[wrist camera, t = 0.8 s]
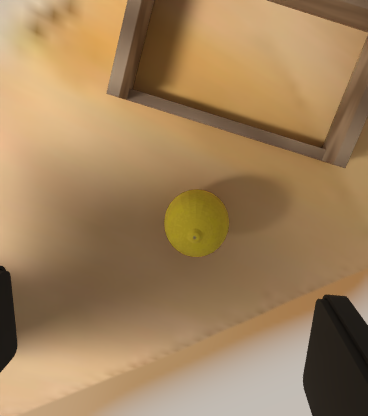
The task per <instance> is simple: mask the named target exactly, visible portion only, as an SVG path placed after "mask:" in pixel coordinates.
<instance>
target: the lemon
mask: <svg viewBox="0 0 368 416" xmlns="http://www.w3.org/2000/svg"><path fill="white" fill-rule="evenodd" d="M164 226H165V232H166V235H167V238H168V240H169V242H170V243H171V245H172V246H173V247H174V248H175V249H176V250H177V251H179V252H181V253H182V254H184V255H187V256H191V257H201V256H206V255H208V254H210V253H213V252H214V251H215V250H216V249H218V248H219V247H220V246H221V244H222V243H223V241H224V240H225V238H226V235H227V233H228V228H229V218H228V213H227V210H226V208H225V206H224V204H223V203H222V202H221V200H220V199H219V198H218V197H216V196H215V195H214V194H212V193H210V192H207V191H205V190H198V189H196V190H189V191H186V192H183V193H181V194H180V195H178V196H177V197H176V198H175V199H174V200H173V201H172V202H171V203H170V205H169V207H168V209H167V211H166V214H165V219H164Z"/></svg>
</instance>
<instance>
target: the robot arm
mask: <svg viewBox="0 0 368 416" xmlns="http://www.w3.org/2000/svg"><path fill="white" fill-rule="evenodd" d="M16 350H17V335H16V325H15V315H14V306H13V296H12V286H11V276H10V273H9V272H8V271H6V269H5V268H4V267H3V266H0V372H1V371H2V370H3V369H4V368H5V366H6V365H7V364H8V363H9V362H10V361H11V359H12V358H13V357H14V355H15V353H16ZM303 386H304V390H305V393H306V397H307V400H308V403H309V406H310V409H311V413H312V415H313V416H368V325H367V324H366V322H365V321H364V320H363V318H362V317H361V315H360V314H359V313H358V311H357V310H356V309H355V307H354V306H353V304H352V303H351V302H350V300H349V299H348V298H347V297H346V296H336V295H324V296H323V299H318V300H317V301H316V305H315V310H314V316H313V322H312V328H311V333H310V339H309V345H308V351H307V357H306V362H305V368H304V374H303Z"/></svg>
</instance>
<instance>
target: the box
mask: <svg viewBox="0 0 368 416" xmlns="http://www.w3.org/2000/svg"><path fill="white" fill-rule="evenodd" d="M268 1H271V2H274V3H277V4H280V5H283V6H287V7H290V8H293V9H296V10H299V11H302V12H305V13H309V14H312V15H315V16H318V17H321V18H324V19H327V20H331V21H334V22H337V23H340V24H343V25H346V26H350V27H353V28H356V29H359V30H362V31H365V32H368V0H268ZM153 4H154V0H128V1H127V6H126V10H125V14H124V19H123V23H122V28H121V32H120V37H119V41H118V45H117V50H116V54H115V59H114V63H113V67H112V72H111V76H110V81H109V85H108V90H107V94H109V95H112V96H116V97H119V98H122V99H126V100H129V101H132V102H135V103H139V104H142V105H145V106H148V107H151V108H155V109H158V110H161V111H164V112H167V113H171V114H174V115H177V116H180V117H183V118H187V119H190V120H193V121H196V122H199V123H203V124H206V125H209V126H212V127H215V128H219V129H222V130H225V131H228V132H231V133H235V134H238V135H241V136H244V137H247V138H251V139H254V140H257V141H260V142H263V143H267V144H270V145H273V146H276V147H279V148H283V149H286V150H289V151H292V152H295V153H299V154H302V155H305V156H308V157H311V158H315V159H318V160H321V161H324V162H327V163H330V164H333V165H336V166H340V167H343V168H346V165H347V163H348V161H349V159H350V156H351V154H352V152H353V149H354V147H355V145H356V142H357V140H358V138H359V135H360V133H361V131H362V128H363V126H364V124H365V122H366V119H367V117H368V36H367V39H366V41H365V44H364V46H363V48H362V51H361V53H360V56H359V58H358V61H357V63H356V66H355V68H354V71H353V73H352V75H351V78H350V80H349V83H348V85H347V88H346V90H345V93H344V95H343V98H342V100H341V102H340V105H339V107H338V110H337V112H336V115H335V117H334V120H333V122H332V125H331V127H330V129H329V132H328V134H327V137H326V139H325V142H324V144H323V147H322V148H319V147H316V146H312V145H309V144H306V143H303V142H300V141H297V140H293V139H290V138H287V137H284V136H281V135H277V134H274V133H271V132H268V131H265V130H261V129H258V128H255V127H252V126H249V125H245V124H242V123H239V122H236V121H233V120H229V119H226V118H223V117H220V116H217V115H213V114H210V113H207V112H204V111H201V110H197V109H194V108H191V107H188V106H185V105H182V104H178V103H175V102H172V101H169V100H166V99H162V98H159V97H156V96H153V95H150V94H146V93H143V92H140V91H137V90H134V89H133V86H134V82H135V77H136V73H137V69H138V65H139V61H140V57H141V53H142V49H143V45H144V41H145V37H146V33H147V29H148V25H149V20H150V16H151V12H152V8H153Z"/></svg>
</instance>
